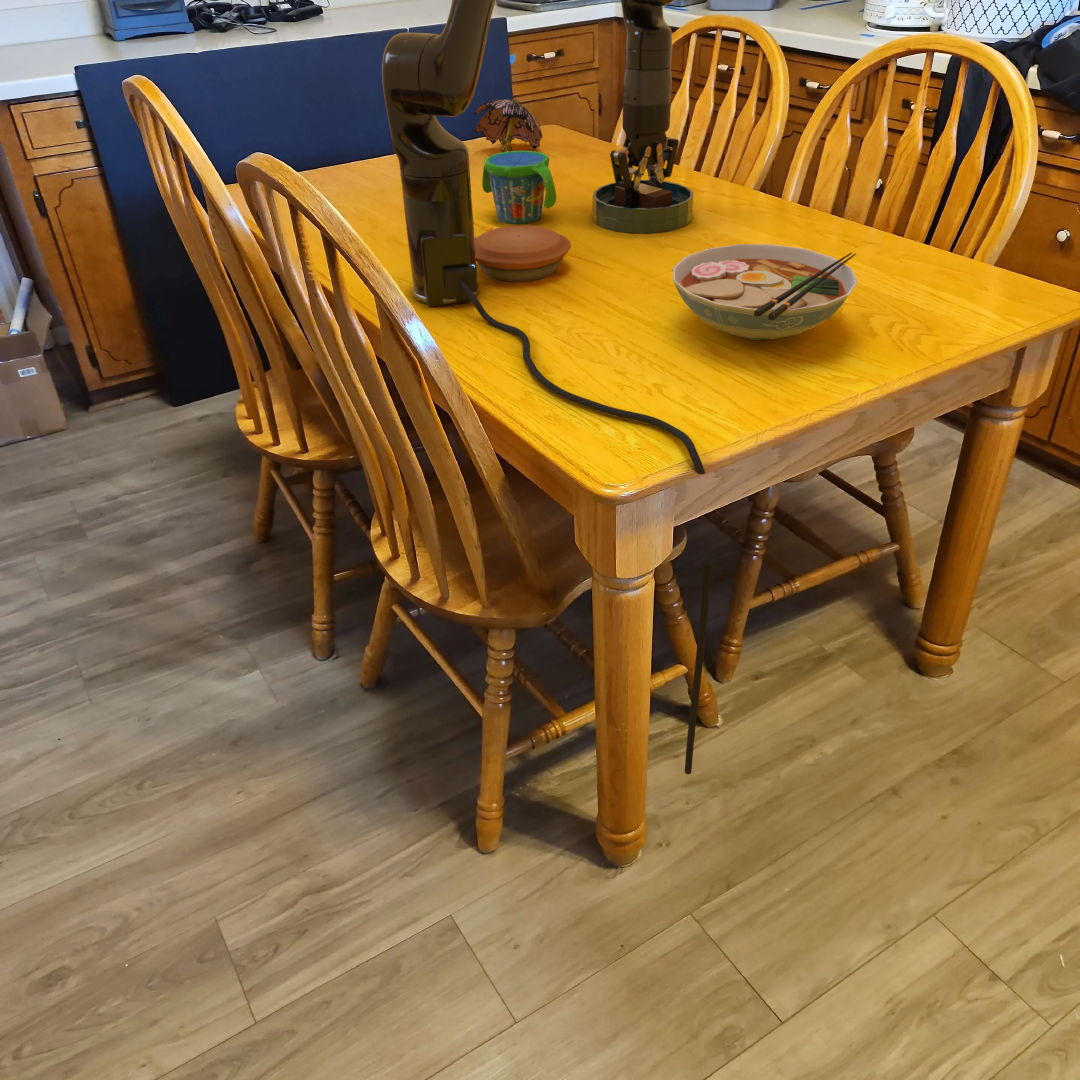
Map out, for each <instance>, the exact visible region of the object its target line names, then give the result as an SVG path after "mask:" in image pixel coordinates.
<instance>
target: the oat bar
mask: <svg viewBox="0 0 1080 1080" xmlns="http://www.w3.org/2000/svg"><path fill="white" fill-rule="evenodd" d="M638 190H639V206H638V208H659V207H667V206H671V205H672V194H673V192H671V191H668V190H664V189H661V188H657V187H653V186H650V185H646V184H642V183H640V185H639V188H638ZM615 206H618V207H625V188H623V187H620V186H615Z"/></svg>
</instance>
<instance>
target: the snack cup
mask: <svg viewBox="0 0 1080 1080" xmlns="http://www.w3.org/2000/svg"><path fill="white" fill-rule="evenodd" d="M500 152H501V151H500ZM500 152H498V153H494V154H492V155H491V154H490V155H489V156H487V157H486V159H484V164H483V169H482V176H481V178H482V180H481V187H482V191H483V192H484V193H487V194H489V193H492V198H493V203H494V208H495V212H496V215H497V220H498V221H499V222H502V223H504V224H509V225H525V224H532V223H535V222H538V221H539V220H540V219H541V218H542V215H543V207H544V208H545V209H551V208H552V207H554V205H556V202H557V191H556V187H555V186H556V185H555V182H554V179H553V176H552V172H551V170H550V168H549V164H550V157H549V156H548V155H547V154H545V153H543V152H540V151H535V150H512V151H508V150H507V151H505V152H501V153H500Z"/></svg>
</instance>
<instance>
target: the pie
mask: <svg viewBox="0 0 1080 1080" xmlns="http://www.w3.org/2000/svg"><path fill="white" fill-rule="evenodd" d="M474 240H475V254H476V264H478V266H479V268H480V269H481V270H482V272H483V273H484V274H485V275H486V276H488V277H490V278H491V279H494V280H498V281H502V282H510V283H511V282H512V283H513V282H516V283H517V282H518V283H519V282H520V283H521V282H523V283H524V282H532V281H537V280H541V279H544V278H547V277H550V276H551V275H552V274H554V273H555V272H556V271H557V270H558V268H559V266H560V264H561V263H562V261H563V259H564V257H566V254H567V253H568V252H569V251H570V249H571V248H572V243H571V240H570V239H569V238H568V237H567V236H565V235H563V234H560V233H558V232H557V231H555V230H553V229H551V228H547V227H544V226H537V225H508V226H507V225H506V226H501V227H496V228H493V229H490V230H487V231H485V232H483V233H481V234H480V235H478V236H476V237H474Z"/></svg>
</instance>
